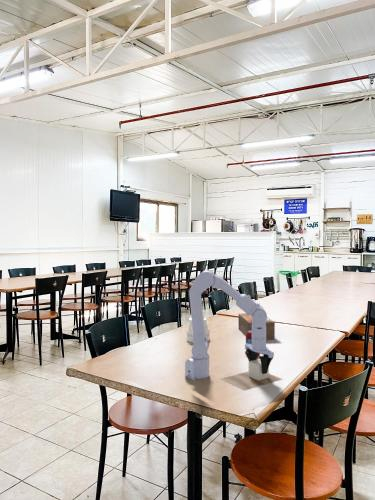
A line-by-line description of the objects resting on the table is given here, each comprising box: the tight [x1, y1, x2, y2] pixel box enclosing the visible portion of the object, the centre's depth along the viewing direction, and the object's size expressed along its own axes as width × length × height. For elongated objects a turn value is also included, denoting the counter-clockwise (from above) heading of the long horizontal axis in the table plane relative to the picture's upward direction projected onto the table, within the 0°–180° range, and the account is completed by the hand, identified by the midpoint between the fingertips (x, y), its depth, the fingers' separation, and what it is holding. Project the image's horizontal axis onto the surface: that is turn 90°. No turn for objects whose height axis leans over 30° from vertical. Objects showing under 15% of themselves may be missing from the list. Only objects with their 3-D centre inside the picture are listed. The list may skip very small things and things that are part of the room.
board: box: [220, 370, 282, 391], centre depth 154 cm, size 20×14×2 cm
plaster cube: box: [248, 358, 270, 381], centre depth 156 cm, size 6×6×6 cm
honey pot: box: [186, 314, 211, 343], centre depth 217 cm, size 13×13×18 cm
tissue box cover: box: [237, 312, 276, 341], centre depth 229 cm, size 26×14×10 cm, turn 6°
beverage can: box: [245, 330, 261, 358], centre depth 187 cm, size 7×7×12 cm
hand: (258, 370), depth 156 cm, fingers open, 6 cm apart
